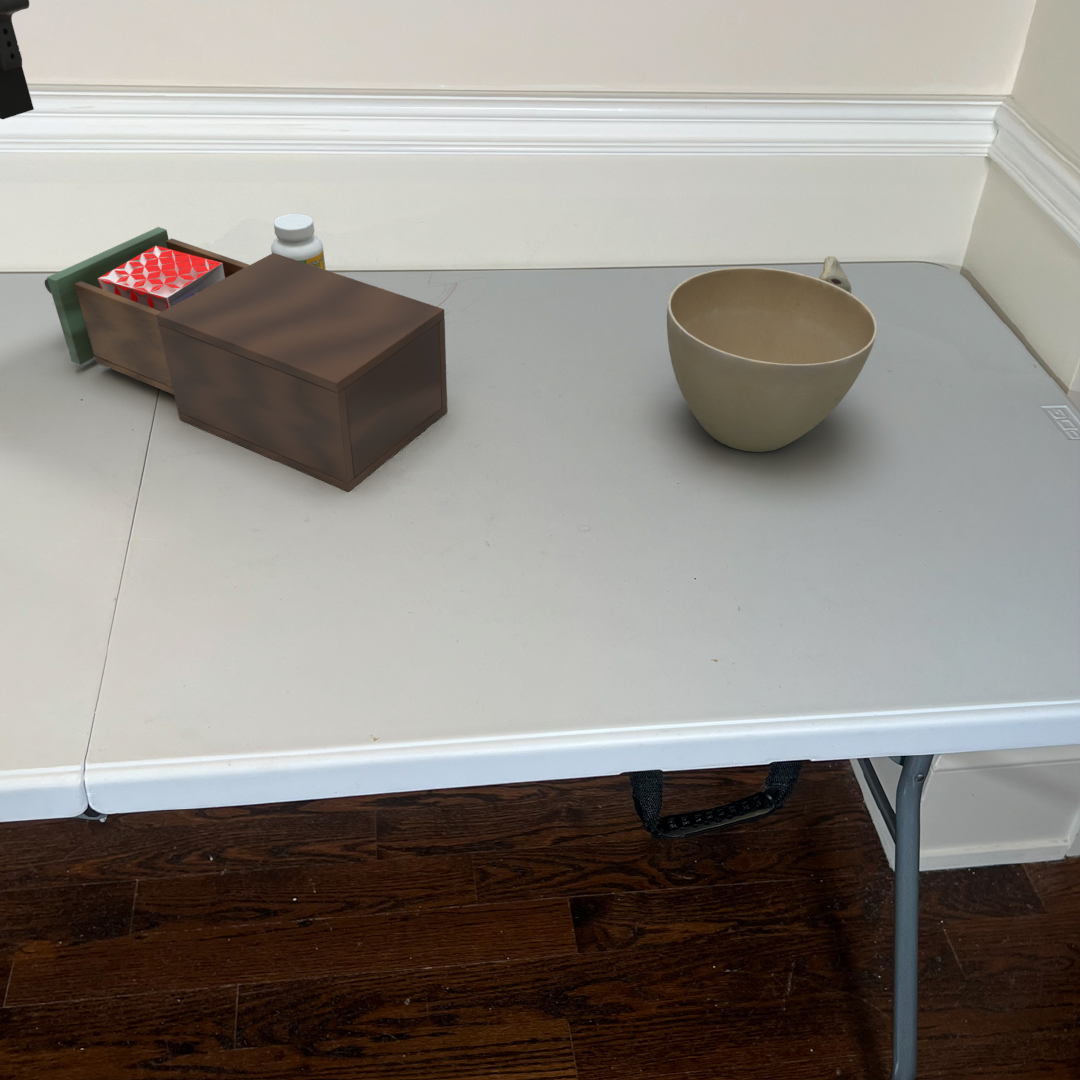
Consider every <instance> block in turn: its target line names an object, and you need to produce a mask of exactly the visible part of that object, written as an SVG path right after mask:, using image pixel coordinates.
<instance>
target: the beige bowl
mask: <svg viewBox="0 0 1080 1080" xmlns="http://www.w3.org/2000/svg"><path fill="white" fill-rule="evenodd" d="M666 307H667V309H666V333H667V334H666V335H667V344H668V351H669V356H670V362H671V366H672V369H673V373H674V377H675V380H676V383H677V385H678V389H679V391H680V392H681V395H682V397H683V399H684V401H685V403H686V404H687V406H688V408H689V409H690V411H691V412H692V414H693V416H694V417H695V418H696V420H697V421H698V423H699V424H700V425H701V427H702V428H703V429H704V431H705V432H707V434H708V435H709V436H711V437H712V438H713V439H714V440H715V441H717V442H719V443H720V444H722V445H724V446H727V447H728V448H732V449H736V450H739V451H743V452H752V453H763V452H772V451H776V450H779V449H781V448H783V447H785V446H788V445H790V444H791V443H793V442H794V441H796V440H798V439H799V438H801V437H803V436H804V435H805V434H807V433H808V432H810V431H811V430H813V429H814V428H816V426H818V425H819V424H820V423H821V422H822V421H824V419H826V418H827V417H828V415H830V414H831V413H832V412H833V410H834V409H836V407H837V406H838V405H839V404H840V403H841V402H842V400H843V399H844V398H845V397H846V395H847V394H848V392H849V391H850V389H851V388H852V387H853V386H854V384H855V382H856V381H857V379H858V377H859V375H860V373H861V372H862V370H863V368H864V367H865V365H866V362H867V361H868V358H869V356H870V355H871V351H872V350H873V347H874V344H875V341H876V338H877V335H878V323H877V320H876V317H875V315H874V314H873V312H872V311H871V309H870V308H869V307H868V306H867V305H866V304H865V303H864V302H863V301H862V300H861V299H860V298H858V297H857V296H855V295H854V294H852V292H851V293H849V292H847V291H845V290H844V289H842V288H840V287H838V286H836V285H833V284H831V283H829V282H826V281H824V280H821V279H819V278H818V277H815V276H811V275H808V274H804V273H800V272H796V271H791V270H784V269H779V268H771V267H770V268H769V267H760V266H759V267H758V266H735V267H723V268H717V269H711V270H707V271H704V272H700V273H697V274H694V275H692V276H690V277H688V278H686V279H684V280H683V281H681V282H680V283H678V284H677V285H676V286H675V287H674V289H673V290H672V291H671V292H670V294H669V295H668V300H667V306H666Z"/></svg>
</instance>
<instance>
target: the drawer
mask: <svg viewBox="0 0 1080 1080" xmlns="http://www.w3.org/2000/svg"><path fill="white" fill-rule="evenodd" d="M154 246H159V247H163V248H167V249H171V250H174V251H178V252H182V253H186V254H190V255H193V256H197V257H201V258H205V259H209V260H213V261H216V262H220V263H222V264H223V269H224V275H225V278H226V277H228V276H230V275H232V274H234V273H236V272H238V271H240V270H242V269H244V268H245V267H247V266H249V265H250V263H249V264H248V263H246V262H242V261H240V260H237V259H235V258H231V257H228V256H226V255H223V254H219V253H216V252H215V251H214V252H213V251H210V250H207V249H205V248H202V247H199V246H196V245H194V244H193V245H192V244H189V243H186V242H184V241H181V240H178V239H175V238H169V234H168V230H167V229H166V228H164V227H160V226H157V227H154V228H153V229H150V230H148V231H146V232H144V233H141V234H140V235H137V236H135V237H133V238H131V239H128V240H126V241H124V242H122V243H120V244H117V245H115V246H113V247H111V248H109V249H107V250H104V251H102V252H100V253H97V254H95V255H93V256H91V257H88V258H87V259H84V260H82V261H80V262H78V263H75V264H73V265H71V266H69V267H67V268H64V269H63V270H60V271H58V272H55V273H53V274H51V275H49V276H47V277H46V279H45V280H44V287H45V288H46V290H47V292H49V293H50V294H51V296H52V300H53V303H54V307H55V309H56V313H57V317H58V320H59V323H60V327H61V331H62V333H63V337H64V340H65V343H66V347H67V350H68V354H69V356H70V360H71V362H72V363H75V364H76V365H82V364H84V363H86V362H88V361H90V360H92V359H94V360H95V363H97V364H98V365H101V366H104V367H106V368H108V369H110V370H113V371H116V372H118V373H120V374H123V375H125V376H127V377H130V378H133V379H135V380H137V381H140V382H142V383H144V384H147V385H149V386H152V387H155V388H156V389H159V390H161V391H163V392H166V393H169V394H171V395H173V396H174V392H173V388H172V383H171V379H170V375H169V370H168V366H167V362H166V357H165V353H164V349H163V344H162V340H161V336H160V331H159V327H158V323H157V318H156V314H158V313H160V312H161V311H159V310H156V309H154V308H151V307H148V306H146V305H143V304H140V303H138V302H135V301H132V300H130V299H127V298H124V297H122V296H119V295H116V294H114V293H111V292H108V291H106V290H103V289H101V288H100V285H99V281H98V278H100V277H101V276H103V275H105V274H107V273H108V272H110V271H112V270H114V269H115V268H117V267H119V266H121V265H123V264H124V263H126V262H128V261H130V260H131V259H133V258H135V257H137V256H138V255H140V254H142V253H144V252H146V251H147V250H149V249H151V248H153V247H154Z"/></svg>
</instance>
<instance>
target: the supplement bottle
mask: <svg viewBox="0 0 1080 1080" xmlns="http://www.w3.org/2000/svg"><path fill="white" fill-rule="evenodd" d="M273 229H274V235H275V236H276V238H274V240H273V241H272V243H271V246H270V251H271V254H272V253H275V254H278V255H281V256H284V257H287V258H290V259H293V260H296V261H300V262H303V263H306V264H309V265H312V266H315V267H318V268H321V269H324V270H326V261H325V254H324V253H325V251H324V246H323V242H322V240H321V239H320V238H319V237H318V236H317V235H315V226H314V220H313V218H312V217H311V216H309V215H306V214H303V213H289V214H288V213H287V214H284V215H281V216H279V217H277V218H275V220H274V221H273Z"/></svg>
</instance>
